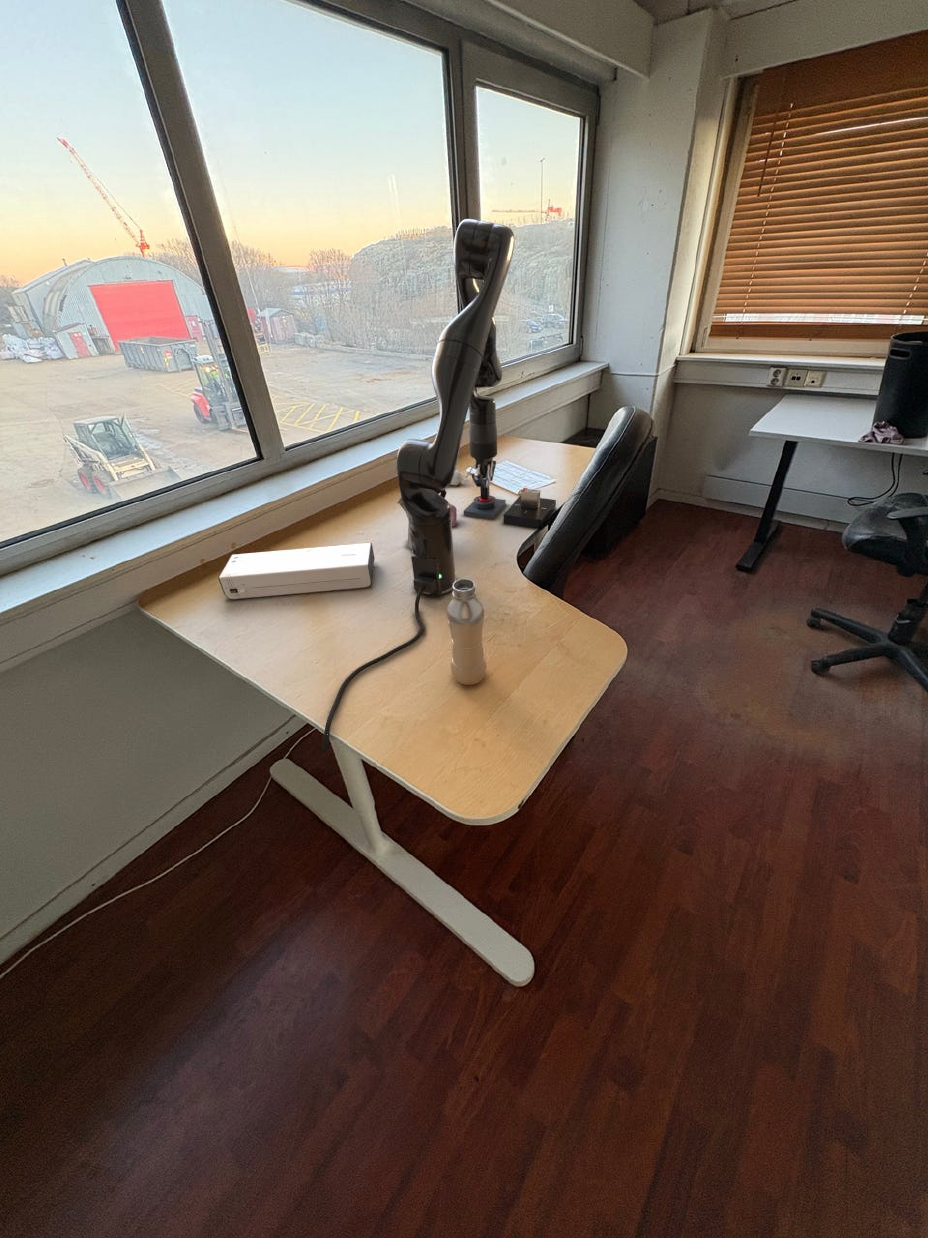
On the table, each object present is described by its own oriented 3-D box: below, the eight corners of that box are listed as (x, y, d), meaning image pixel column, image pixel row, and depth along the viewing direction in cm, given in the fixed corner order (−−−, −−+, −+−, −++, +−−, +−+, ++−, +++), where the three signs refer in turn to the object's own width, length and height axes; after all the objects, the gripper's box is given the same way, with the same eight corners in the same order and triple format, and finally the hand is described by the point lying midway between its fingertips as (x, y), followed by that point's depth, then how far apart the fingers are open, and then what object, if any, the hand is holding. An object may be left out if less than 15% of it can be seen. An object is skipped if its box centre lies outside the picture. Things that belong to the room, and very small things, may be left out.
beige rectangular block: (539, 506, 143) (540, 489, 140) (537, 509, 142) (538, 492, 139) (523, 504, 145) (523, 487, 142) (520, 507, 143) (520, 490, 140)
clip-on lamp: (480, 482, 176) (429, 473, 175) (484, 464, 173) (432, 455, 171) (482, 492, 166) (428, 483, 164) (486, 473, 163) (430, 463, 161)
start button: (488, 507, 147) (488, 501, 146) (476, 505, 148) (476, 499, 147) (492, 502, 150) (492, 496, 149) (481, 500, 151) (481, 495, 150)
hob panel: (541, 529, 138) (541, 519, 136) (503, 524, 142) (503, 513, 140) (555, 509, 148) (556, 499, 146) (519, 504, 152) (520, 494, 150)
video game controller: (457, 526, 146) (457, 501, 145) (455, 526, 141) (455, 500, 140) (424, 526, 147) (423, 502, 146) (421, 526, 142) (420, 501, 141)
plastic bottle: (485, 663, 95) (482, 572, 83) (488, 689, 89) (485, 595, 78) (451, 665, 95) (443, 574, 83) (452, 691, 89) (443, 597, 78)
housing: (492, 520, 145) (492, 508, 143) (463, 516, 148) (463, 504, 146) (505, 505, 153) (505, 494, 150) (478, 501, 156) (478, 490, 154)
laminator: (375, 564, 128) (371, 542, 124) (372, 590, 118) (368, 567, 114) (239, 575, 126) (231, 554, 123) (225, 603, 116) (216, 580, 113)
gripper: (486, 447, 132) (488, 509, 142) (504, 432, 141) (505, 491, 151) (460, 444, 134) (464, 505, 145) (480, 430, 144) (482, 488, 154)
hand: (485, 498), depth 148 cm, fingers closed
